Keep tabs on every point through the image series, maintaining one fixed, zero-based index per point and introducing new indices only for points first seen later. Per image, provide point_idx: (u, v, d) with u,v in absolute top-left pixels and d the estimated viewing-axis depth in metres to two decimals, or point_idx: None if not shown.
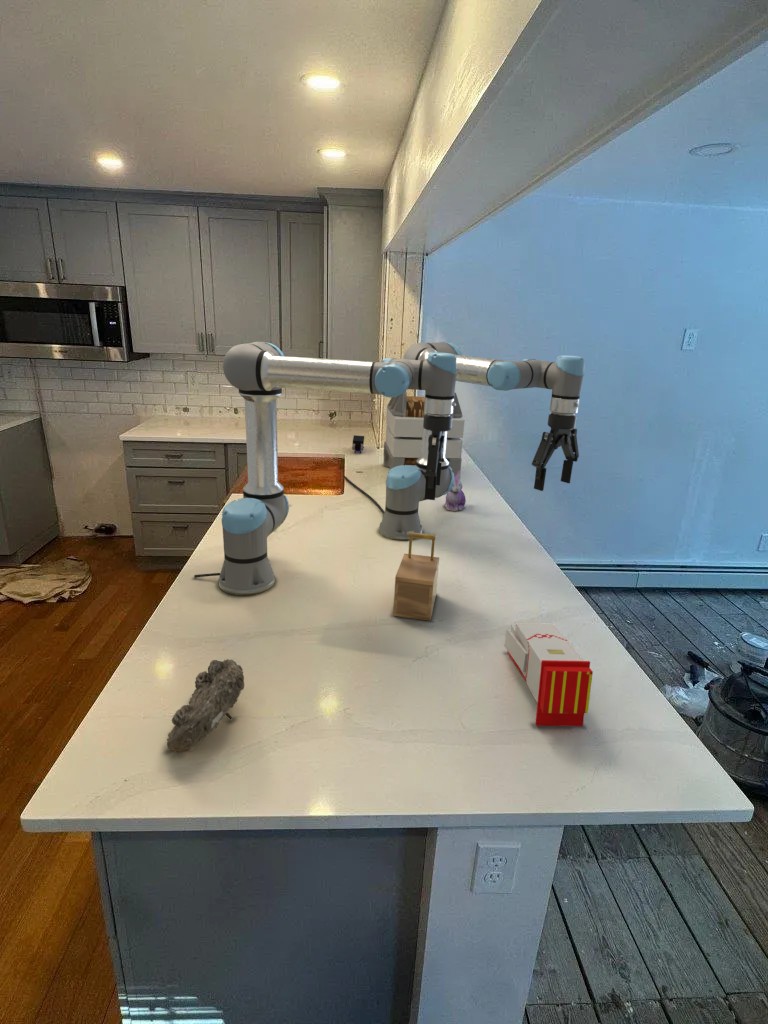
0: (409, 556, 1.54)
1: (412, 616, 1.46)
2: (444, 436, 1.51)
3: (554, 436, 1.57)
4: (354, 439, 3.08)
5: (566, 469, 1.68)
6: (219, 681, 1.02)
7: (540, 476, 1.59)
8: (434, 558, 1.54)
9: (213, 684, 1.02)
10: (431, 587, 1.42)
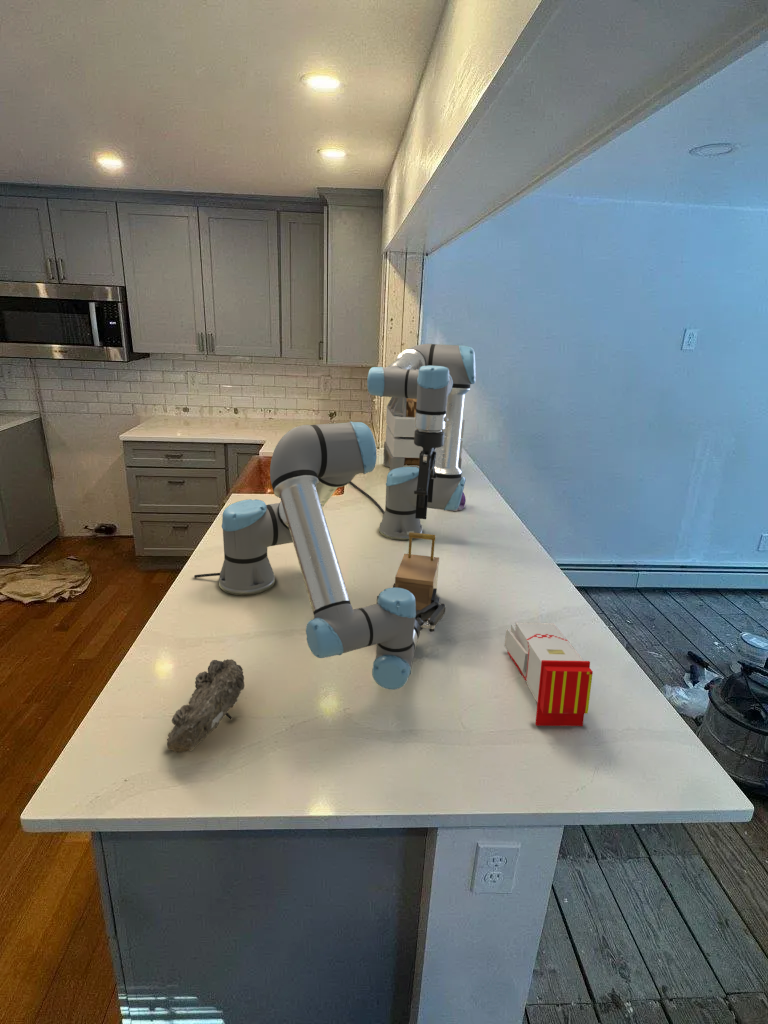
0: (409, 556, 1.54)
1: None
2: None
3: None
4: None
5: (427, 488, 1.53)
6: (219, 681, 1.02)
7: (424, 504, 1.40)
8: (434, 558, 1.54)
9: (213, 684, 1.02)
10: (431, 587, 1.42)
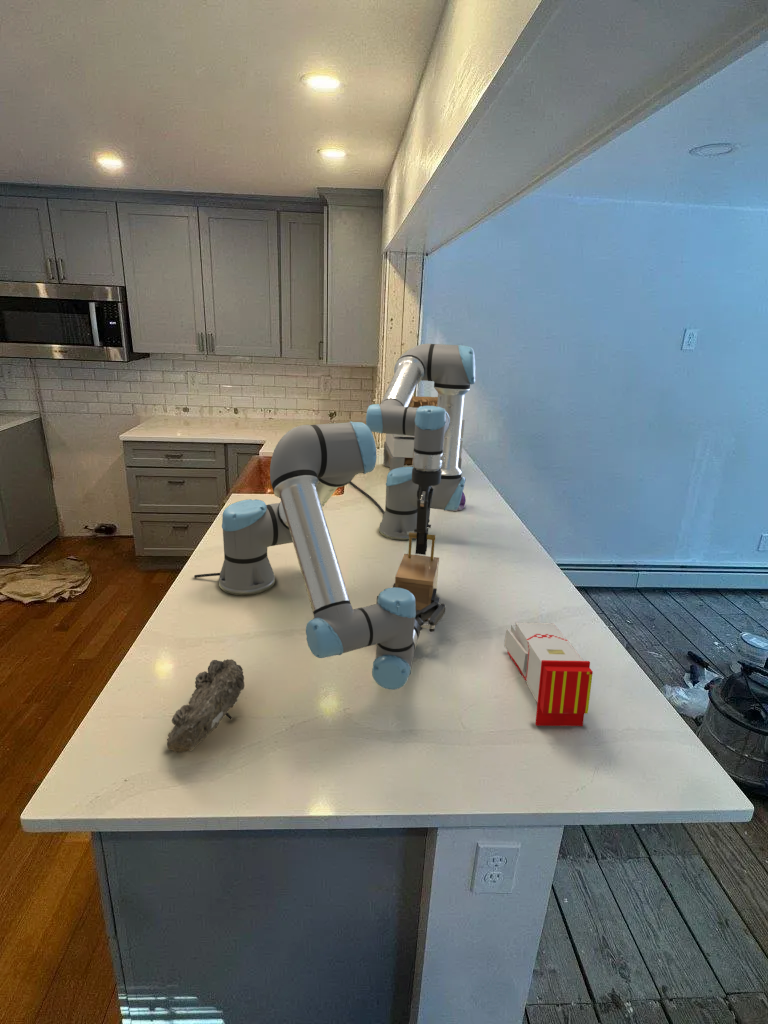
0: (409, 556, 1.54)
1: None
2: None
3: (426, 495, 1.43)
4: None
5: None
6: (219, 681, 1.02)
7: (423, 541, 1.49)
8: (434, 558, 1.54)
9: (213, 684, 1.02)
10: (431, 587, 1.42)
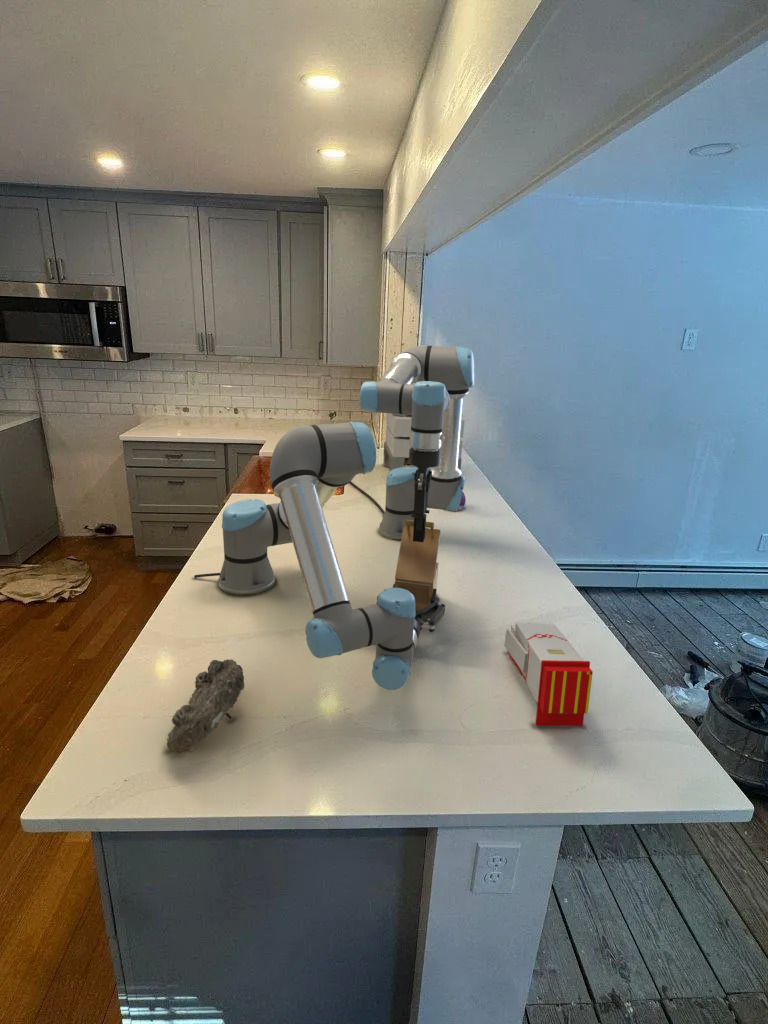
0: (408, 534, 1.47)
1: None
2: None
3: (425, 477, 1.33)
4: None
5: None
6: (219, 681, 1.02)
7: (421, 527, 1.39)
8: (435, 532, 1.47)
9: (213, 684, 1.02)
10: (431, 587, 1.42)
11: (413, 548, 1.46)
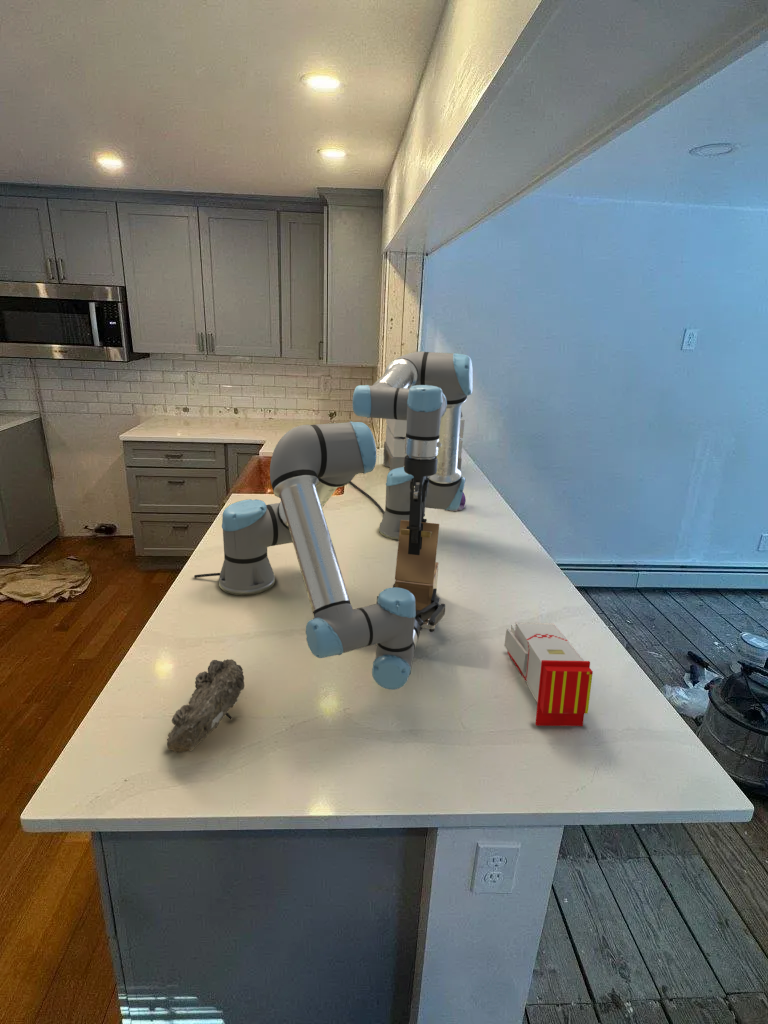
0: None
1: None
2: None
3: (421, 486, 1.26)
4: None
5: None
6: (219, 681, 1.02)
7: (417, 539, 1.32)
8: (433, 527, 1.40)
9: (213, 684, 1.02)
10: (431, 587, 1.42)
11: None
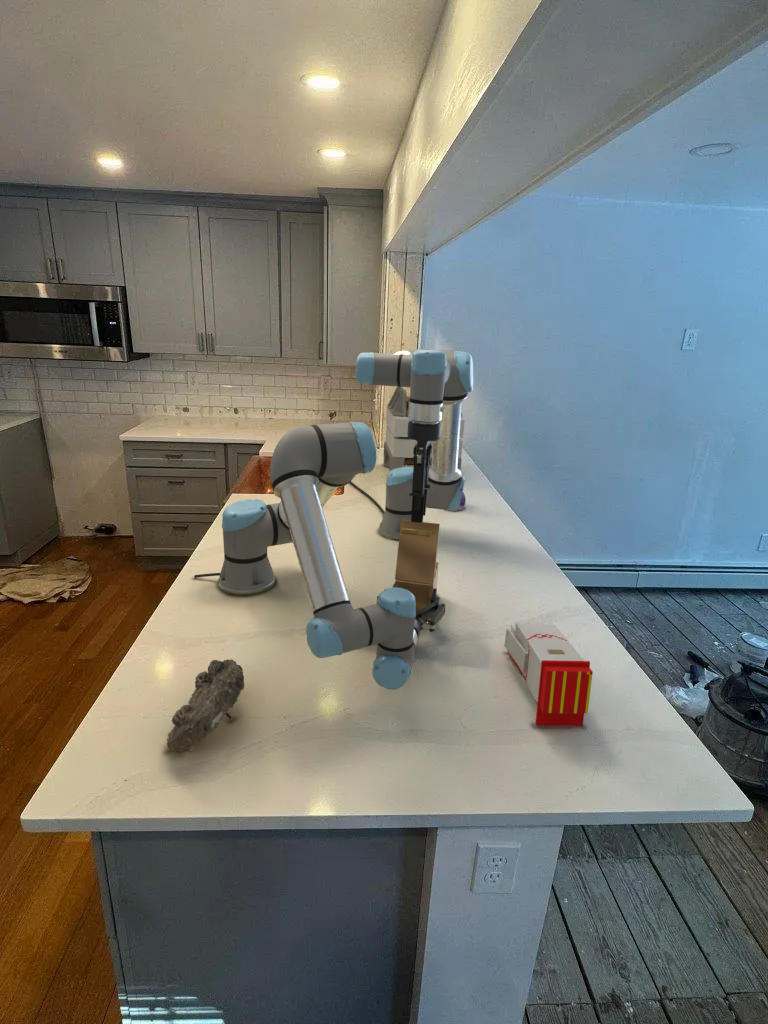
0: None
1: None
2: None
3: (424, 451, 1.26)
4: None
5: None
6: (219, 681, 1.02)
7: (420, 506, 1.31)
8: (434, 527, 1.41)
9: (213, 684, 1.02)
10: (431, 587, 1.42)
11: (412, 546, 1.42)
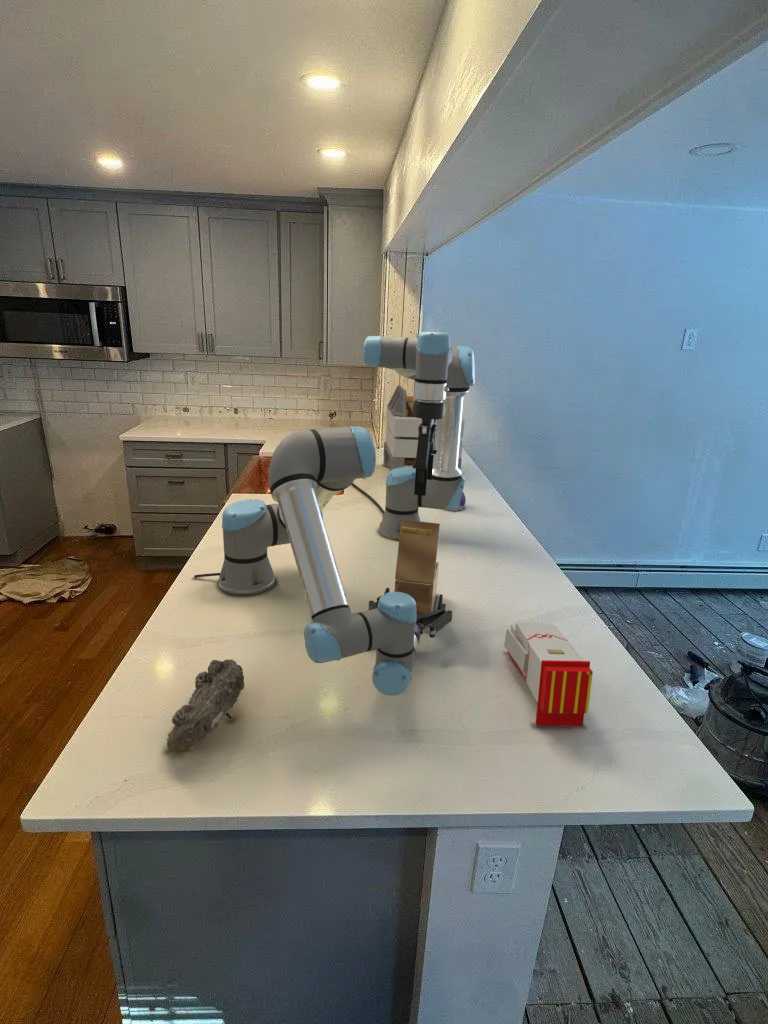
0: None
1: None
2: None
3: None
4: None
5: (427, 464, 1.45)
6: (219, 681, 1.02)
7: (423, 479, 1.32)
8: (434, 527, 1.41)
9: (213, 684, 1.02)
10: (431, 587, 1.42)
11: (412, 545, 1.42)
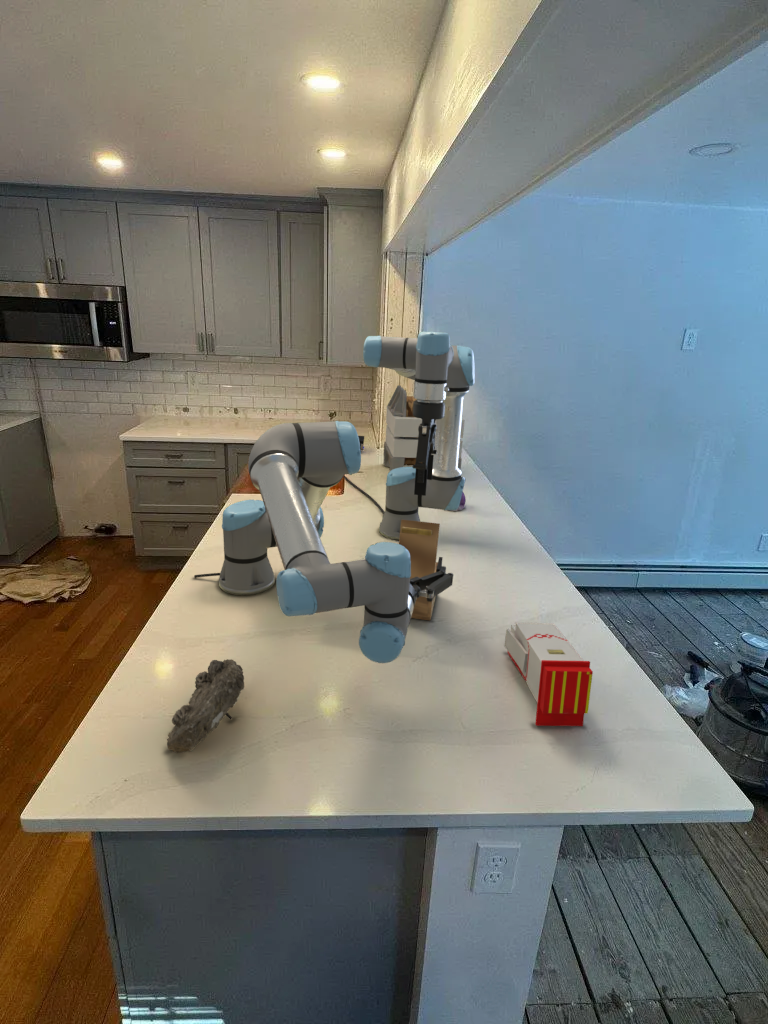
0: None
1: (412, 616, 1.46)
2: None
3: None
4: None
5: (427, 464, 1.45)
6: (219, 681, 1.02)
7: (423, 479, 1.32)
8: (434, 527, 1.41)
9: (213, 684, 1.02)
10: None
11: (412, 545, 1.42)
